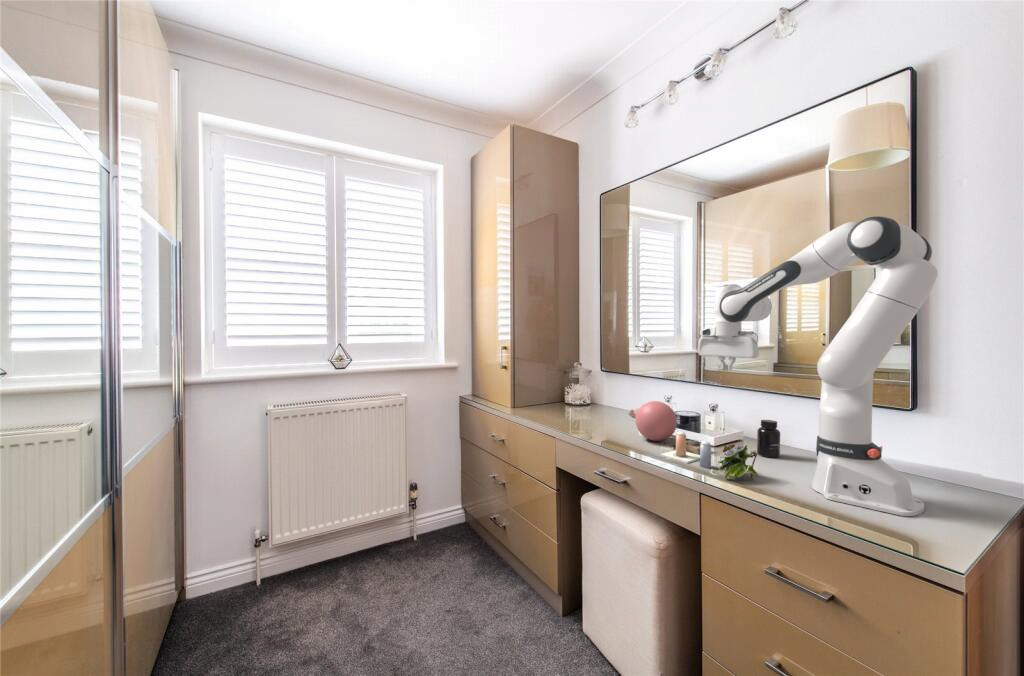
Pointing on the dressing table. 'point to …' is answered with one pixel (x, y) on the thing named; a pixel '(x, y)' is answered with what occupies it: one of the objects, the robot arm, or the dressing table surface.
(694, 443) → the button
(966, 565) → the dressing table surface
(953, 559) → the dressing table surface
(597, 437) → the dressing table surface
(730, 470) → the passion flower
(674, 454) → the sketch pad
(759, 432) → the supplement bottle
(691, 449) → the button block
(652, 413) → the pink balloon
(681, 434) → the cylinder
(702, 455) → the cylinder
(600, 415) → the dressing table surface
